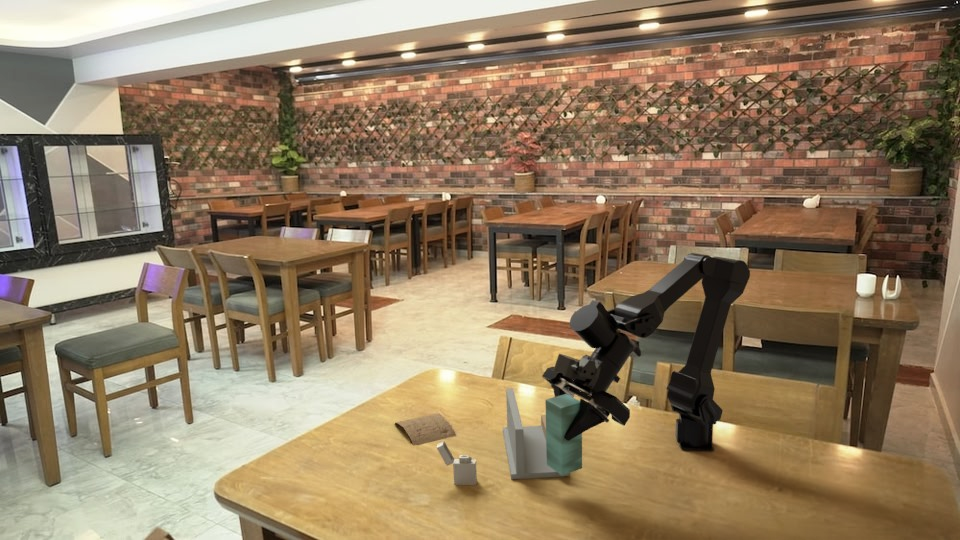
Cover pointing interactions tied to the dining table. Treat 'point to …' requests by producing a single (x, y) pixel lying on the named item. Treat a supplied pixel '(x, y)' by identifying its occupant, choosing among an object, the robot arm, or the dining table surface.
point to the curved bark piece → (427, 429)
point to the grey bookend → (525, 445)
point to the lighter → (459, 466)
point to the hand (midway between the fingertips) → (557, 433)
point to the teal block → (562, 435)
